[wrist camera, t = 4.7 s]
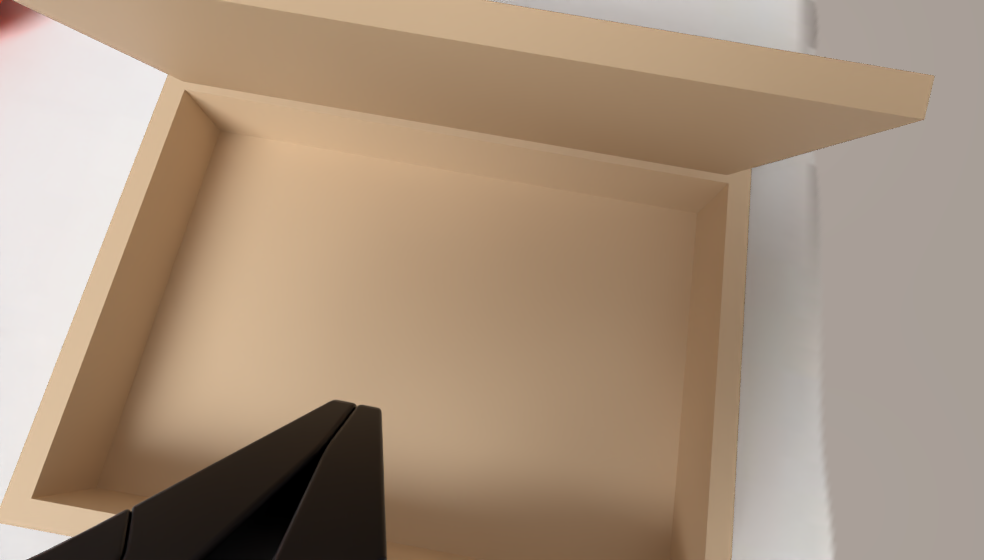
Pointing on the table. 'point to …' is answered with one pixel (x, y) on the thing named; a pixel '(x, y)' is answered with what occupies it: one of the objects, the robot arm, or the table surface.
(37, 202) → the table surface
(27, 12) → the table surface
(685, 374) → the carton
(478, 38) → the carton flap
